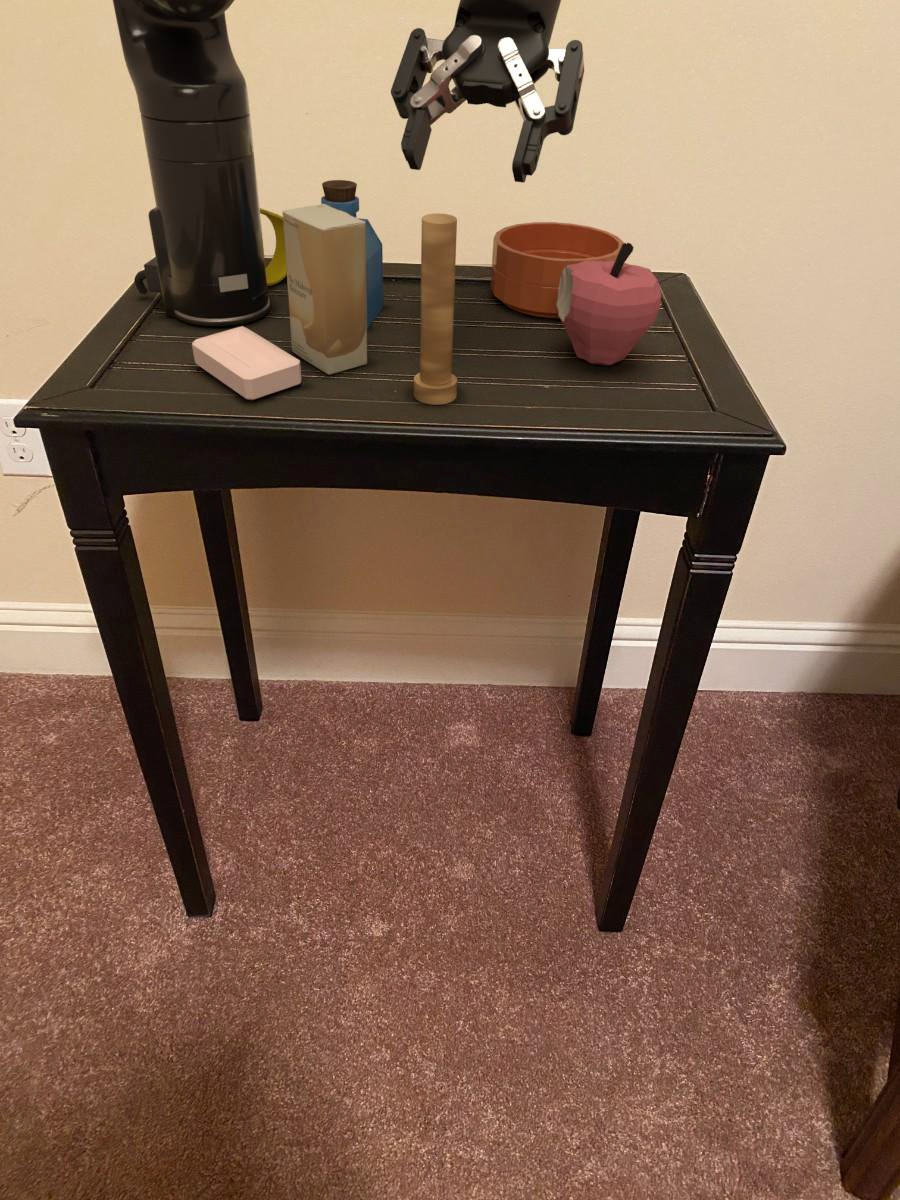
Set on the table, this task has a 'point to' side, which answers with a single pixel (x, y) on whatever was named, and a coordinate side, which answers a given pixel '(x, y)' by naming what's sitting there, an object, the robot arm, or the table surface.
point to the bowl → (543, 261)
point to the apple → (607, 306)
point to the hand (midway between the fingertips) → (464, 169)
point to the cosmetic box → (327, 286)
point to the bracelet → (276, 250)
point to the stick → (437, 310)
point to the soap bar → (247, 362)
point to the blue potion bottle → (344, 199)
